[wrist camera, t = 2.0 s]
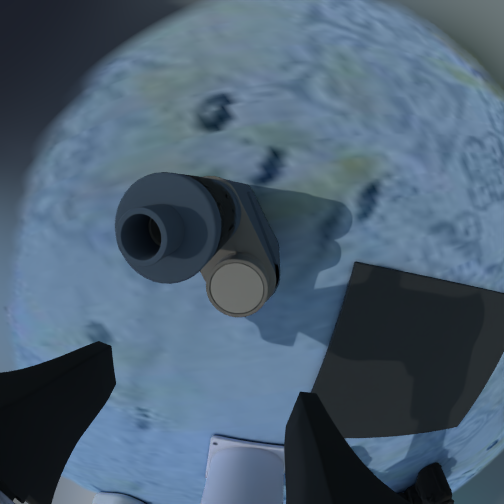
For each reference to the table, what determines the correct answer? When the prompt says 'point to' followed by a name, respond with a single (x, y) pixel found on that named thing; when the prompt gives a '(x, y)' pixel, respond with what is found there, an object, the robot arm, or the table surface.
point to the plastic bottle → (114, 499)
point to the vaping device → (200, 238)
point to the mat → (408, 353)
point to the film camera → (429, 487)
